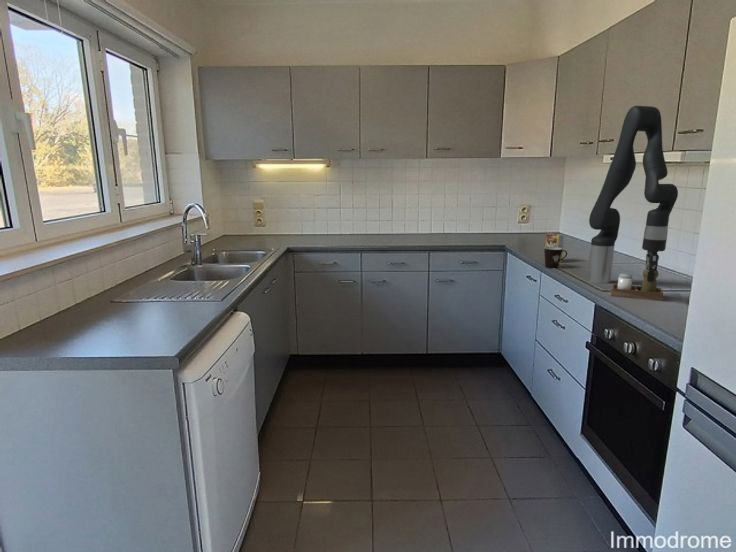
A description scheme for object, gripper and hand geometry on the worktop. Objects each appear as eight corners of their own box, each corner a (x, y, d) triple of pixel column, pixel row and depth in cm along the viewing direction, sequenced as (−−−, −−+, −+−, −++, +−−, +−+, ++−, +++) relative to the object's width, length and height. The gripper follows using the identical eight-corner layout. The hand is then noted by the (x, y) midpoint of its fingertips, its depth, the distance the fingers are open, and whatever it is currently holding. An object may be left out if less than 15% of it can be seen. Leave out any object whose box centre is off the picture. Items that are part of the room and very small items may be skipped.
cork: (657, 296, 179) (661, 268, 176) (655, 299, 174) (659, 271, 172) (639, 294, 182) (643, 267, 180) (637, 297, 178) (641, 269, 175)
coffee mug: (543, 268, 237) (544, 249, 234) (542, 265, 245) (543, 246, 242) (567, 269, 233) (569, 250, 231) (565, 266, 241) (567, 247, 239)
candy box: (543, 260, 257) (545, 233, 254) (549, 259, 259) (551, 233, 256) (556, 263, 249) (558, 235, 246) (562, 262, 251) (564, 234, 248)
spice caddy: (610, 293, 188) (611, 283, 187) (659, 297, 180) (660, 288, 179) (610, 298, 180) (611, 288, 179) (662, 303, 172) (663, 293, 172)
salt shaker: (616, 292, 185) (618, 272, 183) (630, 293, 183) (632, 273, 181) (616, 295, 181) (619, 275, 179) (630, 296, 179) (633, 276, 177)
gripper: (669, 240, 165) (662, 284, 169) (664, 235, 178) (658, 276, 181) (645, 239, 168) (639, 282, 172) (642, 234, 181) (636, 274, 185)
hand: (649, 279), depth 177 cm, fingers open, 8 cm apart
